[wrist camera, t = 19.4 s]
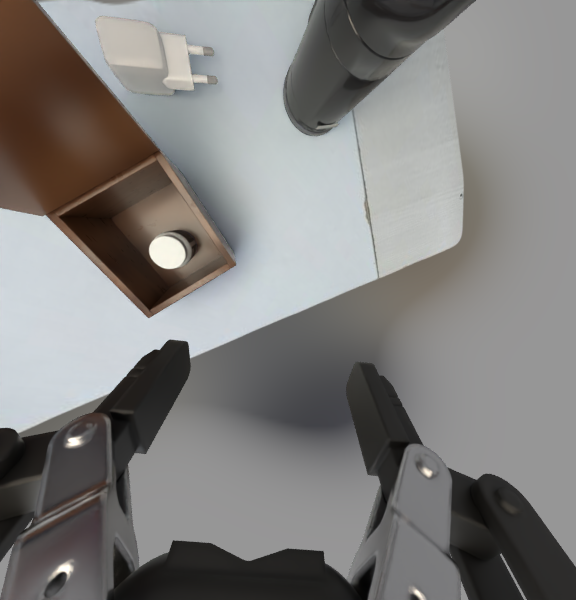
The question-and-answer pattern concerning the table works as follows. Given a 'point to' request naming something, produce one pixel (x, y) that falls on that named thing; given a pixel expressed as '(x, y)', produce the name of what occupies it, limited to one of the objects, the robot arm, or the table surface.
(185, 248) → the pill bottle
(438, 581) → the robot arm
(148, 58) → the power adapter
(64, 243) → the table surface
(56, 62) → the lid
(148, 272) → the supply box
